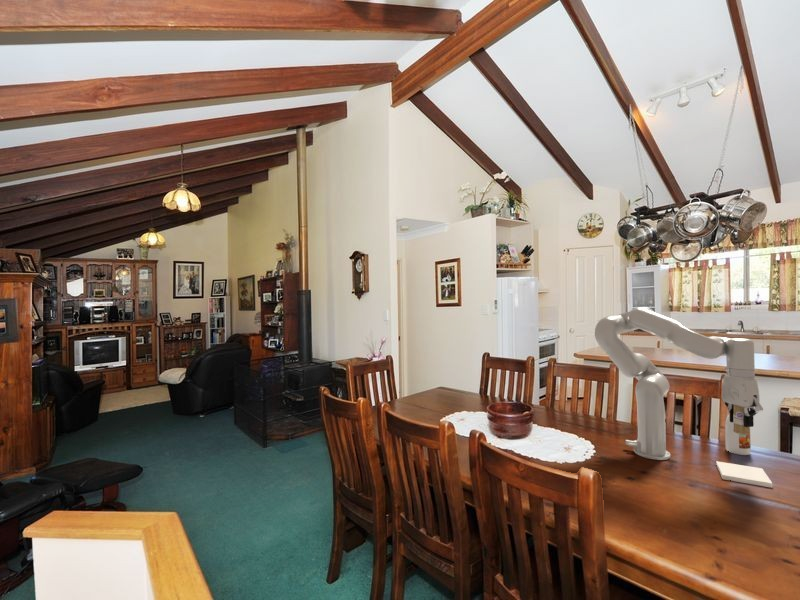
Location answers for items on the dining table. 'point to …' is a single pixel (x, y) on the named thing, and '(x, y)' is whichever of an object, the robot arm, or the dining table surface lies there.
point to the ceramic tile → (744, 474)
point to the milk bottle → (736, 440)
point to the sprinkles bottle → (740, 421)
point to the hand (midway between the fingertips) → (741, 423)
